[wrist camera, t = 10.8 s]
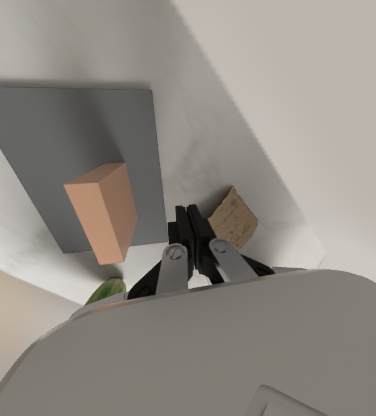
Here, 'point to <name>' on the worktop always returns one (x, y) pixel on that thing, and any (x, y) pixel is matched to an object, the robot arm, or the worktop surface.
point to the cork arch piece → (233, 220)
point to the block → (105, 210)
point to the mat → (82, 153)
